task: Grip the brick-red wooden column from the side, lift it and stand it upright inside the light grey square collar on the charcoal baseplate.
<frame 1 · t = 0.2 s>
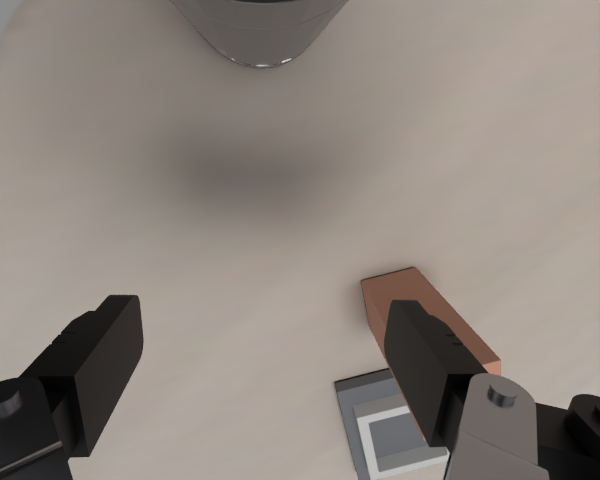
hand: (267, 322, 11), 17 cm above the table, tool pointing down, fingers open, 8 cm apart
baseplate: (399, 417, 38), on the table
column: (391, 297, 32), on the table
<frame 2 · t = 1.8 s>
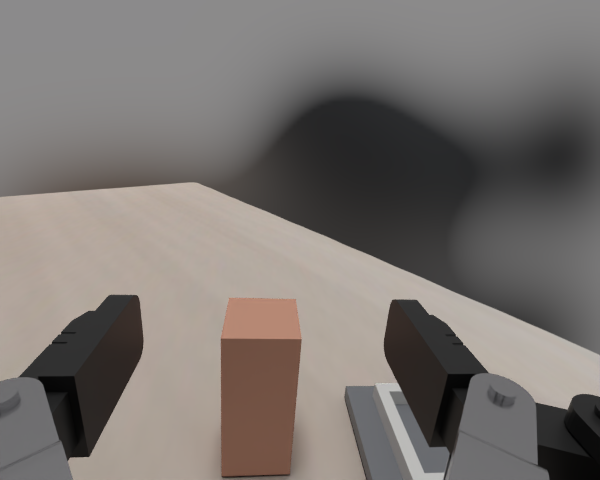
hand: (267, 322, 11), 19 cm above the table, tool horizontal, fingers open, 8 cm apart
baseplate: (442, 450, 29), on the table
column: (256, 445, 28), on the table
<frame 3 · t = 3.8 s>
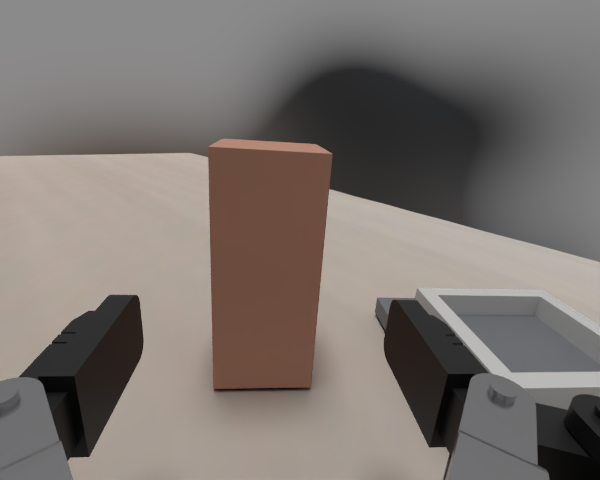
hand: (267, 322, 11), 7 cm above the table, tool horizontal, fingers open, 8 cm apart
baseplate: (516, 365, 21), on the table
column: (263, 356, 20), on the table
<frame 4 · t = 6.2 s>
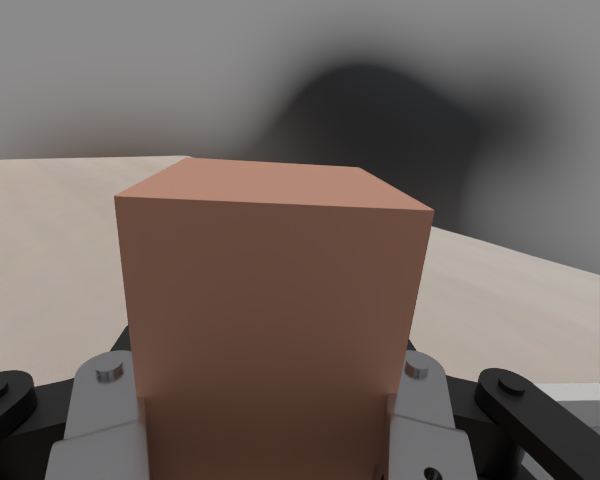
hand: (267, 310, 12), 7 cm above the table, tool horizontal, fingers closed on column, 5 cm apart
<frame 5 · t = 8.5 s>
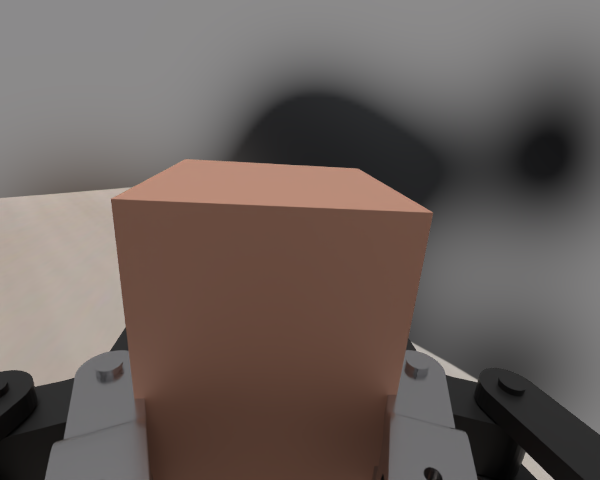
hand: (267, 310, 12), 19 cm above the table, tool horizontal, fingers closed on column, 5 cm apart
when the fingers open (9 cm above the table, at t = 10.9 s): column drops 1 cm, resting on baseplate.
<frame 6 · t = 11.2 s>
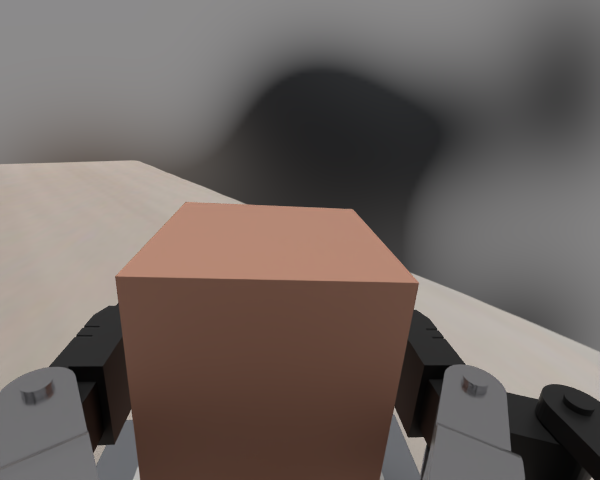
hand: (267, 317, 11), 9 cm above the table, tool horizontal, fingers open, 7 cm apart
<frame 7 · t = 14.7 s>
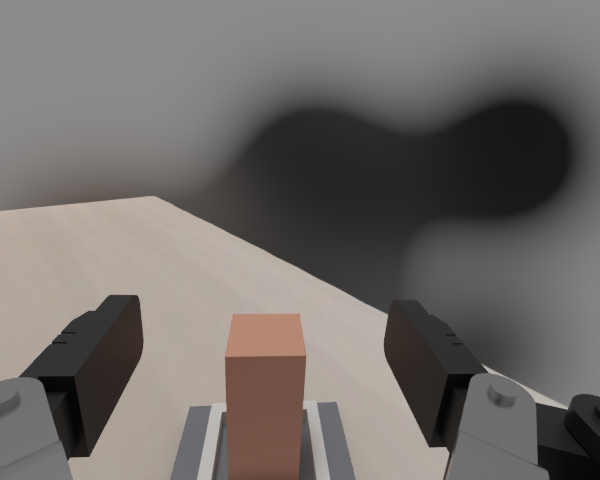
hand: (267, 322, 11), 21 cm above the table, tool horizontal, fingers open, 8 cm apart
baseplate: (264, 473, 28), on the table
column: (263, 462, 28), point 1 cm above the table, touching baseplate
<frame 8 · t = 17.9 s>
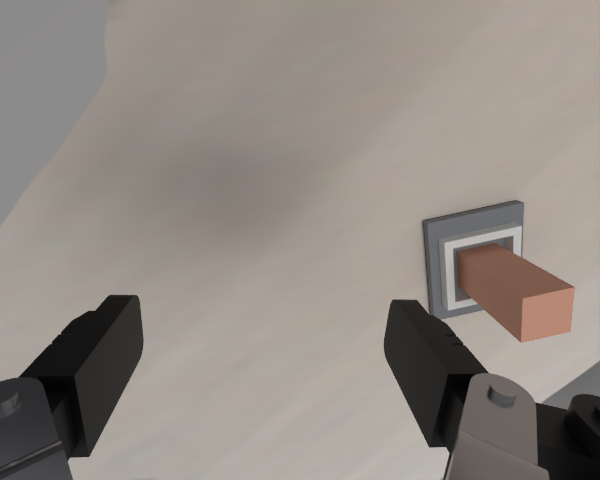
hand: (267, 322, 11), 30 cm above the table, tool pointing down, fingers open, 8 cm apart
baseplate: (471, 261, 46), on the table
column: (476, 264, 44), point 1 cm above the table, touching baseplate
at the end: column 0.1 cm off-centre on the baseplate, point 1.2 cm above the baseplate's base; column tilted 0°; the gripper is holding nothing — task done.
